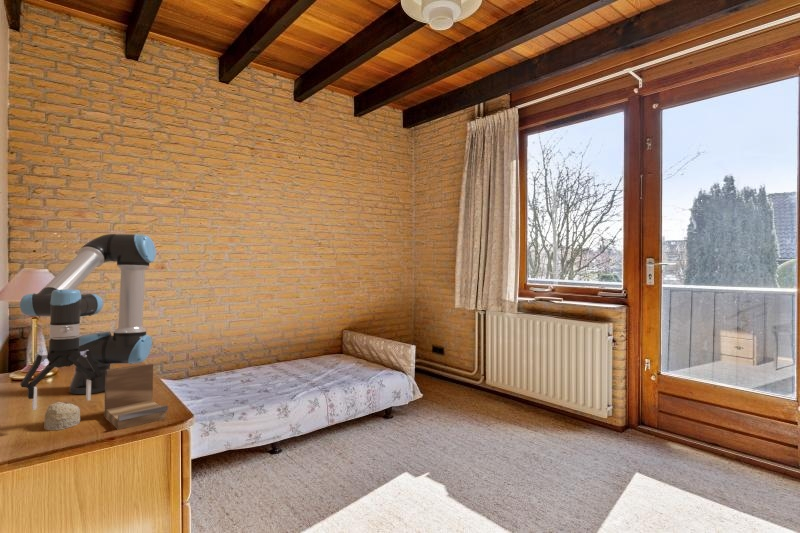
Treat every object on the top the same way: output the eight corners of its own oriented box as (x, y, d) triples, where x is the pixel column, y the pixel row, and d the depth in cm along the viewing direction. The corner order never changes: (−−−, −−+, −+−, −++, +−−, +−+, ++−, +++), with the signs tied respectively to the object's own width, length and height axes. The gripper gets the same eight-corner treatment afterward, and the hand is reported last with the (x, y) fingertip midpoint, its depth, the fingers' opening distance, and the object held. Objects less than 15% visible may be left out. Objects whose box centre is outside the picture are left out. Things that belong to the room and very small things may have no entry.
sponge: (67, 432, 138) (50, 407, 138) (93, 415, 139) (75, 390, 139) (46, 443, 129) (27, 417, 129) (73, 425, 130) (54, 399, 130)
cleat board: (104, 417, 141) (105, 369, 142) (150, 407, 152) (151, 363, 152) (118, 430, 130) (119, 379, 130) (167, 419, 140) (168, 371, 141)
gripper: (13, 342, 122) (10, 415, 122) (113, 335, 141) (111, 398, 140) (10, 340, 127) (7, 410, 127) (107, 332, 146) (105, 393, 145)
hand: (62, 404), depth 134 cm, fingers open, 13 cm apart
